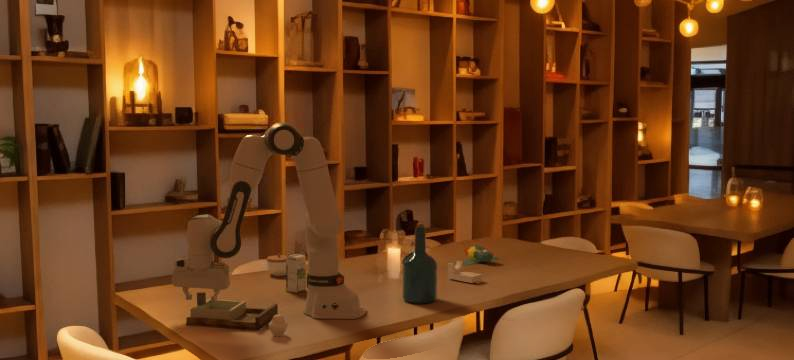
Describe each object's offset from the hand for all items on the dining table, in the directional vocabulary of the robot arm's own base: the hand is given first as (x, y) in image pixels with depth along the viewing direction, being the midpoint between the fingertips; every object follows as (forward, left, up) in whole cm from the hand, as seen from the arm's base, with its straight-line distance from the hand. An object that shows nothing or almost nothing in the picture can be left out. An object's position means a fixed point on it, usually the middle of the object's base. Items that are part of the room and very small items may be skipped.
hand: (201, 300), depth 253 cm
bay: (-12, 0, -6) cm, 13 cm away
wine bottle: (-70, -42, -7) cm, 82 cm away
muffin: (-33, +12, -7) cm, 35 cm away
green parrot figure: (-86, -120, -7) cm, 147 cm away
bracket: (-83, -79, -7) cm, 115 cm away
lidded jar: (-2, -71, -7) cm, 71 cm away
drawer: (-6, 0, -5) cm, 8 cm away
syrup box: (-19, -45, -7) cm, 49 cm away
